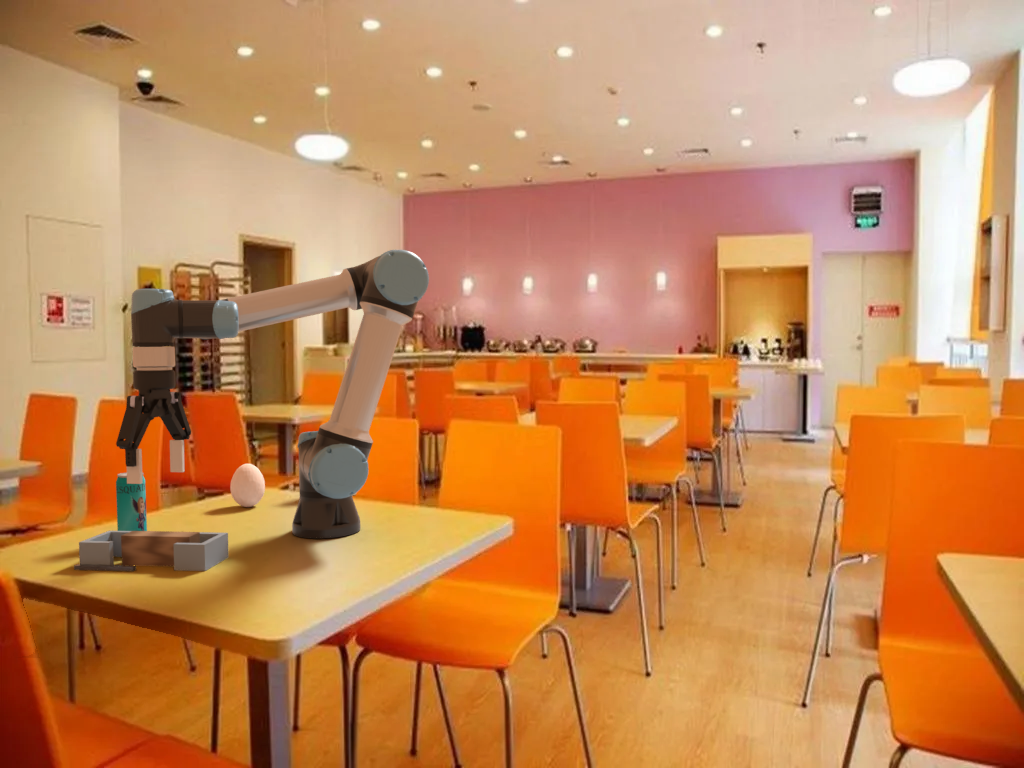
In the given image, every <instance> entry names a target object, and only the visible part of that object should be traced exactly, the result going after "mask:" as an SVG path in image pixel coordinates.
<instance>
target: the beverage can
mask: <svg viewBox="0 0 1024 768" xmlns="http://www.w3.org/2000/svg"><path fill="white" fill-rule="evenodd" d="M144 475H145V474H144V472H143V471H142V482H143V483H142V484H127V472H120V473H117V475H116V477H117V478H116V481H115V493H116V519H117V521H116V522H117V524H116V525H117V531H148V527H147V526H148V524H147V522H148V521H147V495H146V494H147V493H146V492H147V490H146V479H145V477H144Z"/></svg>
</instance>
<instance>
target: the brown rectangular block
mask: <svg viewBox="0 0 1024 768" xmlns="http://www.w3.org/2000/svg"><path fill="white" fill-rule="evenodd" d="M200 532H201V531H167V530H166V531H164V530H163V531H160V530H158V531H157V530H147V531H131V532H129V533H126V534H124V535H122V536H121V549H122V557H121V565H132V566H133V565H135V566H136V567H137V566H139V567H140V566H141V567H144V566H146V567H174V545H173V544H175V543H200Z"/></svg>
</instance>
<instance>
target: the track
mask: <svg viewBox="0 0 1024 768" xmlns="http://www.w3.org/2000/svg"><path fill="white" fill-rule="evenodd" d="M73 569H74V571H105V572H106V571H107V572H108V571H109V572H110V571H113V572H134V571H137V566H133V565H122V564H114V565H88V564H80V563H78V564H74V565H73Z"/></svg>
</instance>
